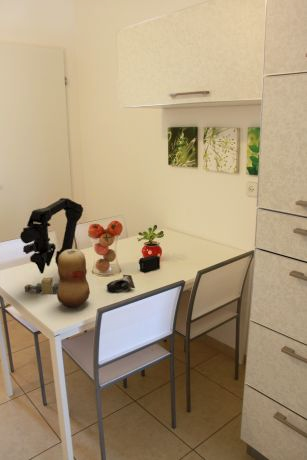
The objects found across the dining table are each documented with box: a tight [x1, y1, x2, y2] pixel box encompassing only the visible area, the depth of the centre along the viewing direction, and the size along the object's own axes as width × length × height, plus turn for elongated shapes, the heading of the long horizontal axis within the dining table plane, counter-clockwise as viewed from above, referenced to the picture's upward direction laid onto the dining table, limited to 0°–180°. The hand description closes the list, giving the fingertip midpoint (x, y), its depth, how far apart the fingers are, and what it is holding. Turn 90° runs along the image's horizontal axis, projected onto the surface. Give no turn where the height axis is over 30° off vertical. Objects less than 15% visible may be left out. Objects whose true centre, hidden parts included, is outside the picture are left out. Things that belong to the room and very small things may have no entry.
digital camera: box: [138, 254, 161, 274], centre depth 208 cm, size 10×5×7 cm, turn 127°
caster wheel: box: [106, 274, 136, 294], centre depth 183 cm, size 7×11×10 cm
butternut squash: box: [56, 248, 91, 308], centre depth 165 cm, size 14×13×25 cm
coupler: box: [40, 277, 54, 295], centre depth 182 cm, size 4×4×6 cm
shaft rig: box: [23, 282, 60, 295], centre depth 182 cm, size 22×4×4 cm, turn 87°
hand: (45, 269), depth 180 cm, fingers open, 9 cm apart
